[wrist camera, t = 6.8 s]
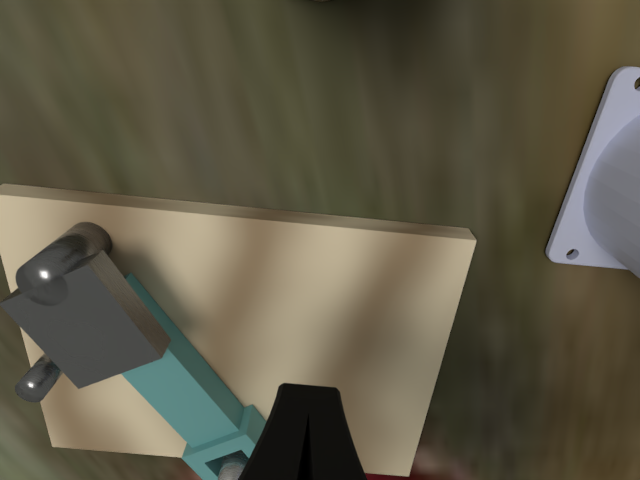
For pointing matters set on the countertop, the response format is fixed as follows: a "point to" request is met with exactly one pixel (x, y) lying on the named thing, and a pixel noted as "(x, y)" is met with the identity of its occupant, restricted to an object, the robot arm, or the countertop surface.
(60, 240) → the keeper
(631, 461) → the countertop surface
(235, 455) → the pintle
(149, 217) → the base board
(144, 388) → the link
